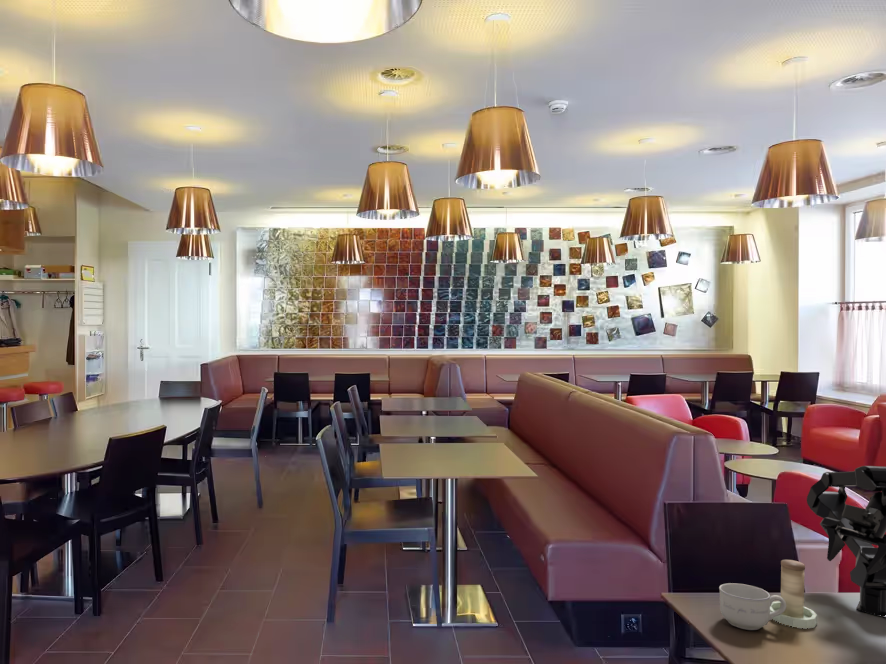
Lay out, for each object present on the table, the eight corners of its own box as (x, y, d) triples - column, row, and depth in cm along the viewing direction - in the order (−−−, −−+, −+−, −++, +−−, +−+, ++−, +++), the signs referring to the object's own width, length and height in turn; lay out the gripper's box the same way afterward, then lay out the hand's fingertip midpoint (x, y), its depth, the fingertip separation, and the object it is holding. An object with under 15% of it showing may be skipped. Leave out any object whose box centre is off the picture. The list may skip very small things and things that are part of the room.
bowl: (773, 605, 154) (773, 597, 154) (820, 618, 147) (820, 610, 147) (762, 618, 146) (762, 610, 146) (811, 632, 140) (811, 623, 140)
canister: (782, 609, 150) (783, 558, 151) (806, 616, 147) (807, 563, 147) (777, 616, 147) (778, 563, 147) (801, 622, 143) (802, 568, 143)
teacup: (716, 627, 141) (717, 592, 141) (719, 610, 150) (720, 577, 151) (786, 643, 134) (787, 606, 134) (785, 624, 144) (785, 589, 144)
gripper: (825, 484, 156) (794, 532, 151) (906, 503, 138) (874, 558, 134) (845, 513, 159) (815, 561, 154) (926, 534, 141) (896, 589, 137)
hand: (847, 566), depth 145 cm, fingers open, 9 cm apart
